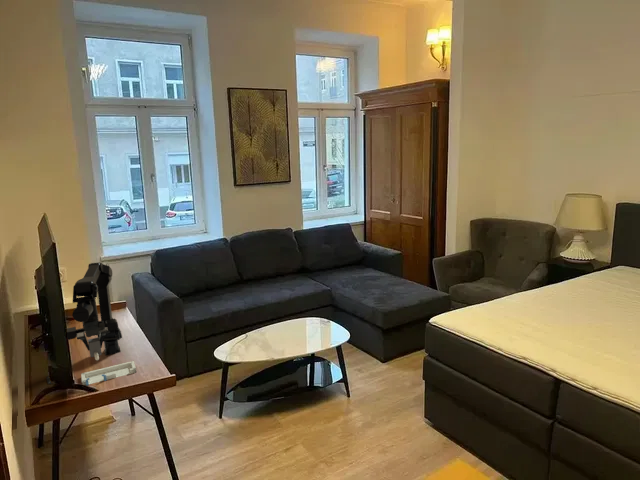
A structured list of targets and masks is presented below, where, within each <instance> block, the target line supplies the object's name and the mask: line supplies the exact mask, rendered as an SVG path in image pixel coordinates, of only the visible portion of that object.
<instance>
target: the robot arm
mask: <svg viewBox="0 0 640 480" xmlns="http://www.w3.org/2000/svg"><path fill="white" fill-rule="evenodd" d="M87 267H88V268H87V270H86V271H85V273H84V275H83V278H81V279H78V280H77V281H76V282H75V283H74V285H73V289H72V303H73V304H75V303H77V304H76V307H75V308H74V309H73V311H72V313H71V316H72V318H73V320H75V321H76V322H78V323H82V327H81V328H77V329H76V326H72V327H67V328H66V329H67V338H68V340H67V341H69V340H74V339H76V340H80V341H81V342H82V343H83V344H84V346H85V347H86V350H88V351H89V352H90V350H89V344H88V339H87V338H91V337H95V336H97V337H99V340H100V346H101V349H102V347H103V345H104V349H103V351H104V356H109V355H114V354H118V353H121V352H122V350H121V347H120V346H119V341H120V339H123V334H122V330H121V329H120V328H119V323H118V320H117V319H116V318H113V313H112V305H111V297H110V295H111V294H110V287H109V286H110V284H111V282H112V279H113V278H112V277H113V269H112V268H111V267H110V265H107V264H104V263H103V262H90V263H88V266H87ZM96 298H98V306H99V314H100V320H99V314H98V309H97V300H96Z"/></svg>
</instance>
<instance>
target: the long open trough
mask: <svg viewBox="0 0 640 480" xmlns="http://www.w3.org/2000/svg"><path fill="white" fill-rule="evenodd" d="M136 373H137V367H136V364H135V361H134V360H132V361H128V362H123V363H119V364H115V365H111V366H106V367H102V368H100V369H99V368H98V369H94V370H90V371H85V372H82V373H80V375H81V385H85V386H89V385H91V384H96V383H100V382H103V381H104V382H106V381H108V380H112V379H115V378H120V377H123V376H127V375H131V374H136Z"/></svg>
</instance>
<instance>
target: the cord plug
mask: <svg viewBox="0 0 640 480" xmlns="http://www.w3.org/2000/svg"><path fill="white" fill-rule="evenodd" d="M87 342H88V345H89V350H90V351H89V356H90V358H93V357H94V359H95V361H99V360H100V356H102V354H103V353H102V348H101V346H100V340H99V337H98V336H97V337H94V338H89V339H87Z"/></svg>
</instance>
